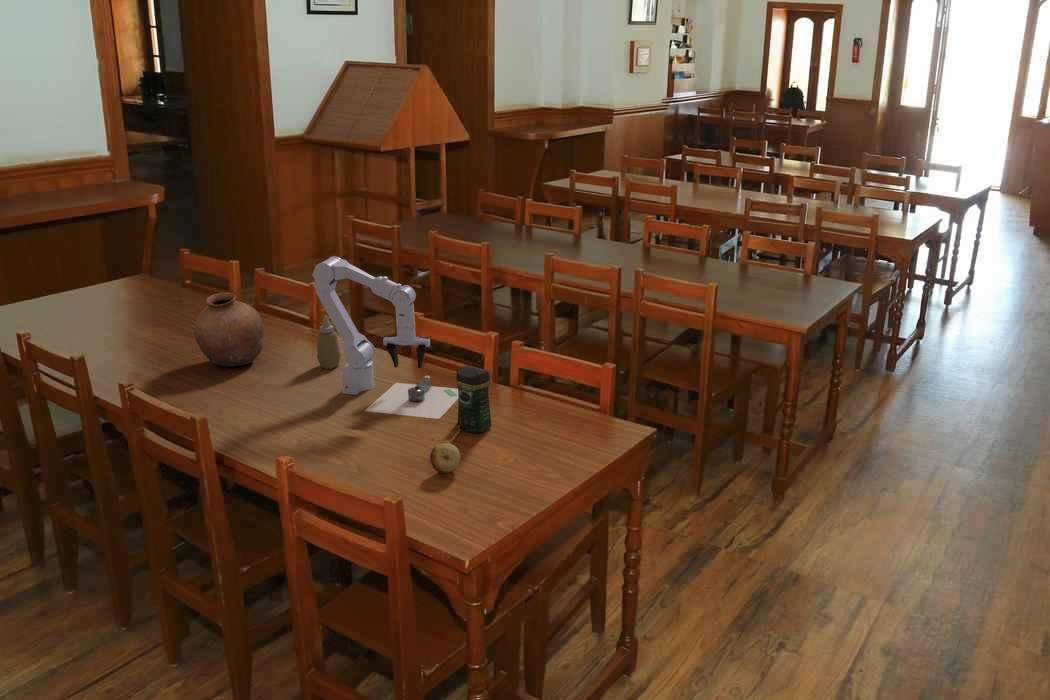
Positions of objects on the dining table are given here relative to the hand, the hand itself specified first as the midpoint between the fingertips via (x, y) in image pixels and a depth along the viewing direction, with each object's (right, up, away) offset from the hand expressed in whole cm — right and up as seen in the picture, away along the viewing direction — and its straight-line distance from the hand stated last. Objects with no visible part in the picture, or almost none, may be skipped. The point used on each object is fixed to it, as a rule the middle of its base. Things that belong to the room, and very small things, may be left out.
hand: (408, 366), depth 299 cm
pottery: (-65, 0, +32) cm, 72 cm away
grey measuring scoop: (+4, -9, -1) cm, 10 cm away
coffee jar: (+22, -18, -21) cm, 35 cm away
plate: (+3, -12, -4) cm, 13 cm away
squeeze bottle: (-31, -1, +29) cm, 42 cm away
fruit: (+16, -27, -48) cm, 57 cm away
